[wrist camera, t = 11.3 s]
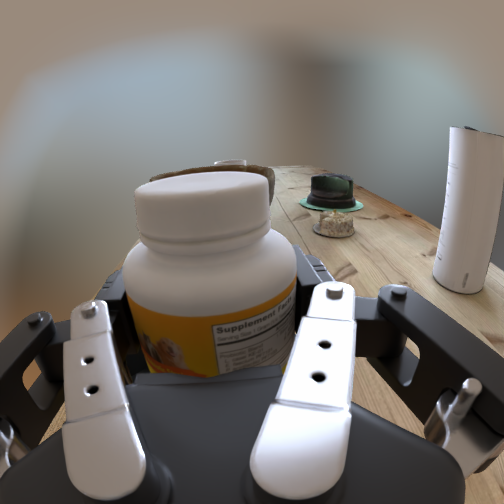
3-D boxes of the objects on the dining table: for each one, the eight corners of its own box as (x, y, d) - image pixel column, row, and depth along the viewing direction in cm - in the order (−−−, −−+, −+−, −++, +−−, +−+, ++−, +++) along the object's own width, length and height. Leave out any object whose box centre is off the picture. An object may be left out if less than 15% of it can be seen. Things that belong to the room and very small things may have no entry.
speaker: (484, 300, 37) (513, 134, 27) (429, 287, 43) (449, 121, 33) (480, 273, 45) (500, 134, 35) (433, 263, 51) (447, 124, 40)
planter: (232, 192, 112) (230, 163, 107) (210, 190, 119) (207, 163, 115) (253, 187, 120) (252, 160, 116) (231, 184, 128) (230, 159, 124)
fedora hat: (367, 197, 96) (365, 214, 79) (320, 217, 106) (307, 238, 89) (347, 157, 93) (340, 165, 77) (300, 180, 103) (283, 193, 86)
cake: (348, 225, 74) (351, 205, 71) (359, 240, 65) (362, 217, 62) (310, 222, 74) (312, 201, 72) (315, 237, 65) (318, 213, 63)
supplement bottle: (155, 393, 14) (102, 185, 10) (251, 358, 16) (240, 164, 12) (197, 481, 9) (112, 218, 5) (314, 425, 12) (339, 181, 8)
